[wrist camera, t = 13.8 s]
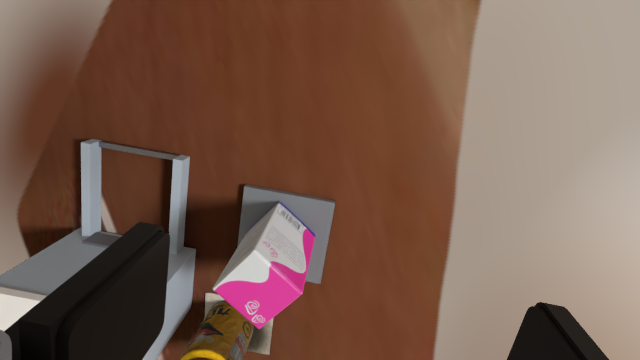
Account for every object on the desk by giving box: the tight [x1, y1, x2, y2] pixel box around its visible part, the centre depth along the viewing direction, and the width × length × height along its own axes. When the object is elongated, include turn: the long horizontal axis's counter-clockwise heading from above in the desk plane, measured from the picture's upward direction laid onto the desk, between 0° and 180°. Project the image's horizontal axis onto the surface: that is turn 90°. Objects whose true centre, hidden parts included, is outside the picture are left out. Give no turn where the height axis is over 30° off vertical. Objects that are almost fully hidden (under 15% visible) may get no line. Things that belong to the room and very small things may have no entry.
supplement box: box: [213, 202, 316, 329], centre depth 39 cm, size 6×6×12 cm
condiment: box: [181, 293, 273, 360], centre depth 44 cm, size 7×8×12 cm
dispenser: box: [0, 139, 196, 360], centre depth 40 cm, size 19×14×14 cm
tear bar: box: [99, 141, 180, 160], centre depth 44 cm, size 1×9×1 cm, turn 81°
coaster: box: [237, 184, 335, 284], centre depth 45 cm, size 10×10×1 cm
